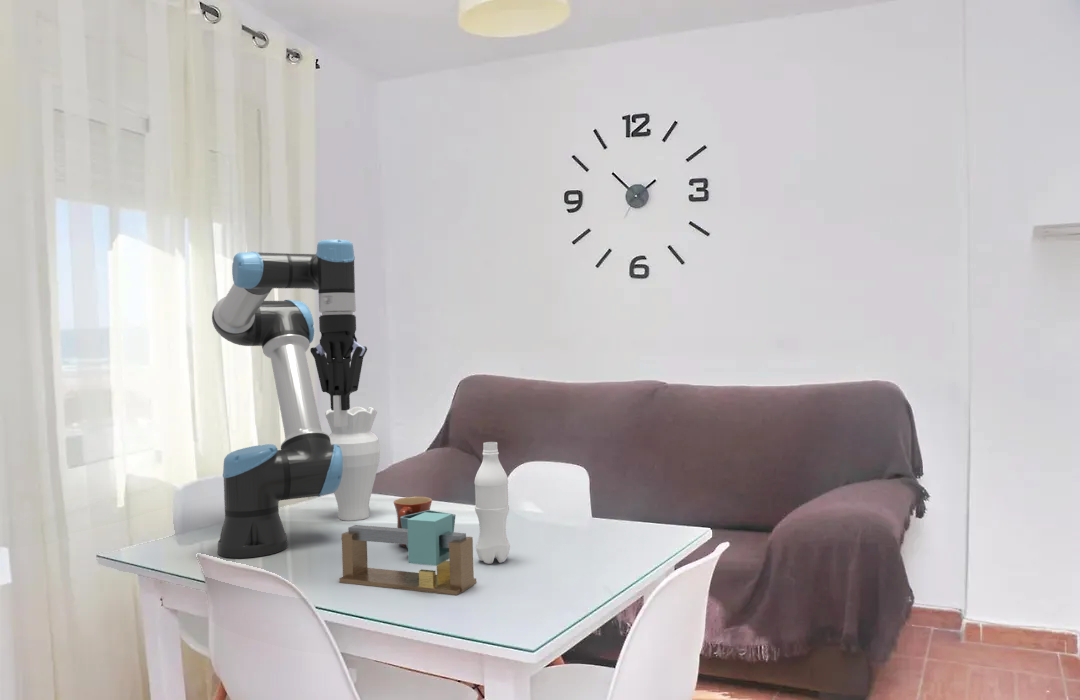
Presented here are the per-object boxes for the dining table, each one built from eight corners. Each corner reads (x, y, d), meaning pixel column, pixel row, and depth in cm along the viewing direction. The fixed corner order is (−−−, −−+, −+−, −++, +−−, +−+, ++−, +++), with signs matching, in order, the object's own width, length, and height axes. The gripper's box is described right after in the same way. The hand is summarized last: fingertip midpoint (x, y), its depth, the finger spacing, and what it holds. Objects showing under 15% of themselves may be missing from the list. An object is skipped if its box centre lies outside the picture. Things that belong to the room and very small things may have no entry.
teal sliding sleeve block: (408, 563, 156) (407, 519, 156) (426, 554, 162) (424, 512, 162) (436, 565, 154) (434, 521, 154) (453, 556, 160) (451, 514, 160)
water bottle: (480, 566, 170) (476, 446, 169) (473, 557, 177) (470, 441, 176) (513, 563, 172) (510, 443, 171) (506, 554, 179) (503, 439, 178)
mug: (403, 539, 194) (401, 496, 194) (438, 540, 193) (437, 496, 193) (383, 553, 183) (382, 507, 183) (420, 554, 181) (419, 507, 181)
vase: (324, 514, 225) (320, 408, 224) (378, 509, 229) (375, 405, 228) (327, 526, 211) (323, 412, 210) (385, 520, 215) (381, 409, 214)
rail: (338, 582, 162) (336, 530, 161) (362, 571, 169) (360, 521, 169) (457, 595, 152) (456, 540, 152) (477, 582, 159) (475, 530, 159)
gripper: (300, 314, 172) (304, 427, 173) (352, 312, 167) (356, 428, 168) (322, 315, 179) (326, 423, 180) (373, 313, 174) (377, 424, 175)
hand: (340, 425), depth 174 cm, fingers closed
